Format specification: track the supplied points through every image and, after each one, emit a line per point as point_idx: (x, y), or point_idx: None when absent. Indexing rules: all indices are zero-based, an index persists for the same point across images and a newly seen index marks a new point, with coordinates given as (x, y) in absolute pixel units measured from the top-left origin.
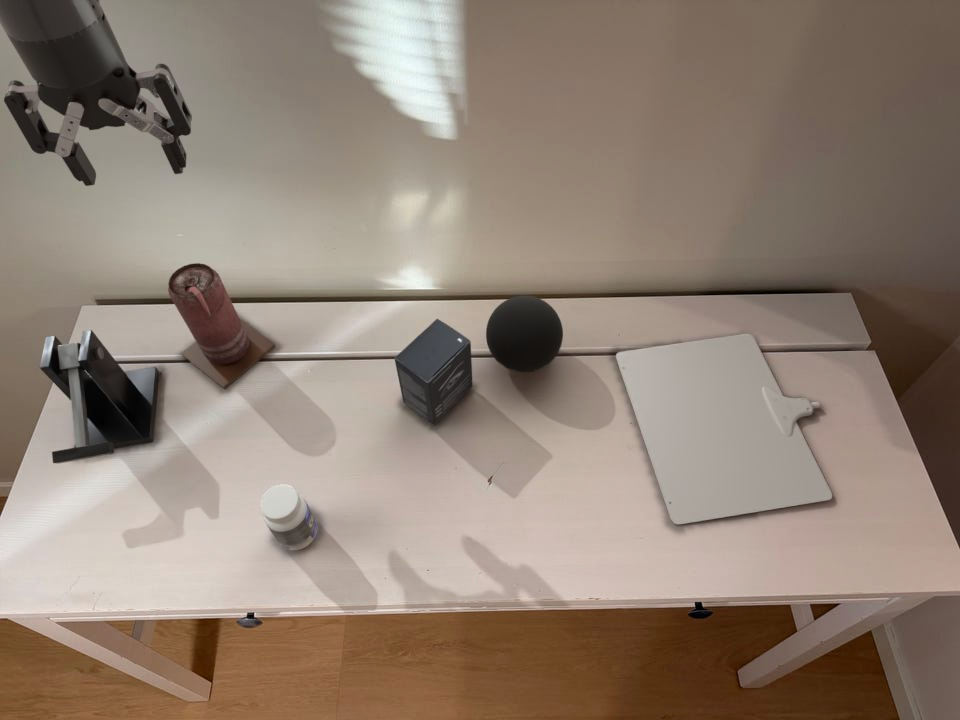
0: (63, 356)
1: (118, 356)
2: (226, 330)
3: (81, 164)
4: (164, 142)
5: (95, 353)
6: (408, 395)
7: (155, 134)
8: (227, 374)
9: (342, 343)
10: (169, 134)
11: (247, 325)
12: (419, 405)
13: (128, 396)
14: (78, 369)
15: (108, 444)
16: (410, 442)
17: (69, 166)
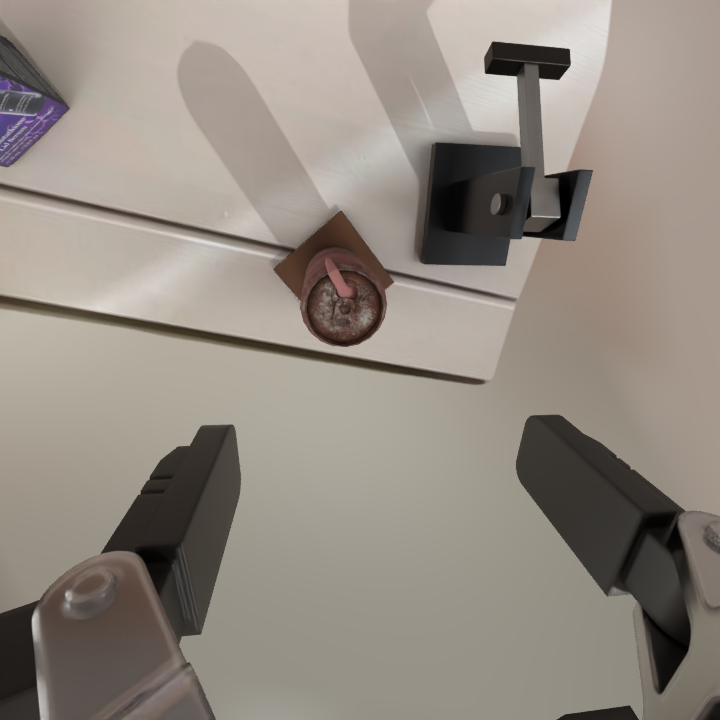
0: (552, 197)
1: (466, 298)
2: (317, 259)
3: (594, 479)
4: (140, 560)
5: (504, 198)
6: (23, 74)
7: (139, 630)
8: (335, 231)
9: (179, 253)
10: (38, 623)
11: None
12: (5, 51)
13: (458, 201)
14: None
15: (492, 53)
16: (50, 19)
17: (637, 477)
